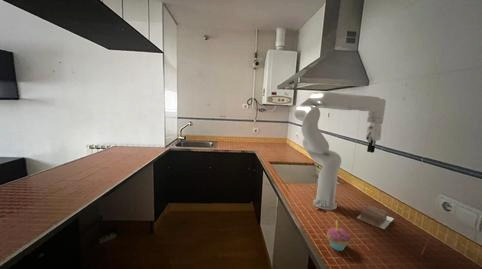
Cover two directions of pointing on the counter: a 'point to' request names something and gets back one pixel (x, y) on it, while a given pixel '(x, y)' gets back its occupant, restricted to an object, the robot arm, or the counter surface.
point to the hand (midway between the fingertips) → (370, 152)
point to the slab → (373, 216)
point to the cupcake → (338, 238)
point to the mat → (384, 222)
